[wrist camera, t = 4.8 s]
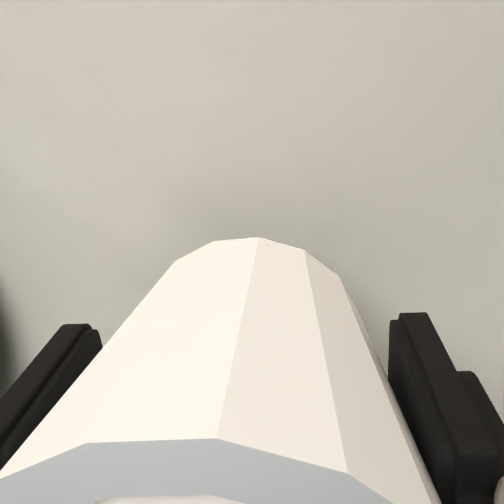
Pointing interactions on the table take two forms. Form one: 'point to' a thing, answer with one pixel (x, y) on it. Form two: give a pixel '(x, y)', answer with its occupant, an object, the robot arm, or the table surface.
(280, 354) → the white cup
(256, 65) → the table surface
